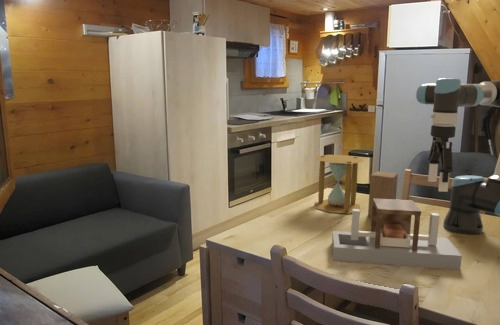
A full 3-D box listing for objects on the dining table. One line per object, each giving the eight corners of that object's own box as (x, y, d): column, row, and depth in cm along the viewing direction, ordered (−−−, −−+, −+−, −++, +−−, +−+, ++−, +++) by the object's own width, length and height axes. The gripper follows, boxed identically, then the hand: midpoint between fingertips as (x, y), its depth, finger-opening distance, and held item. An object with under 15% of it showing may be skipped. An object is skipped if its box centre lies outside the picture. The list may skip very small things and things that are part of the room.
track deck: (446, 250, 156) (447, 238, 155) (460, 269, 140) (461, 255, 139) (332, 243, 162) (332, 231, 161) (333, 260, 147) (334, 247, 146)
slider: (432, 239, 153) (434, 210, 150) (439, 249, 143) (442, 219, 141) (350, 234, 157) (351, 205, 155) (352, 243, 148) (353, 214, 146)
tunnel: (409, 237, 156) (412, 199, 153) (417, 251, 142) (421, 211, 140) (370, 234, 158) (372, 197, 155) (375, 248, 145) (378, 209, 142)
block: (399, 239, 153) (400, 224, 152) (402, 246, 147) (404, 230, 146) (382, 238, 154) (383, 223, 152) (385, 245, 148) (386, 229, 147)
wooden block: (394, 214, 197) (398, 173, 193) (389, 220, 189) (392, 177, 185) (373, 210, 202) (376, 170, 198) (367, 216, 194) (370, 174, 190)
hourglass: (366, 204, 212) (369, 156, 207) (353, 217, 193) (356, 164, 188) (323, 197, 223) (325, 152, 218) (306, 208, 205) (307, 159, 200)
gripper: (422, 121, 152) (417, 177, 157) (442, 129, 128) (435, 195, 133) (444, 121, 151) (438, 178, 156) (468, 129, 127) (460, 196, 131)
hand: (437, 186), depth 144 cm, fingers open, 13 cm apart
